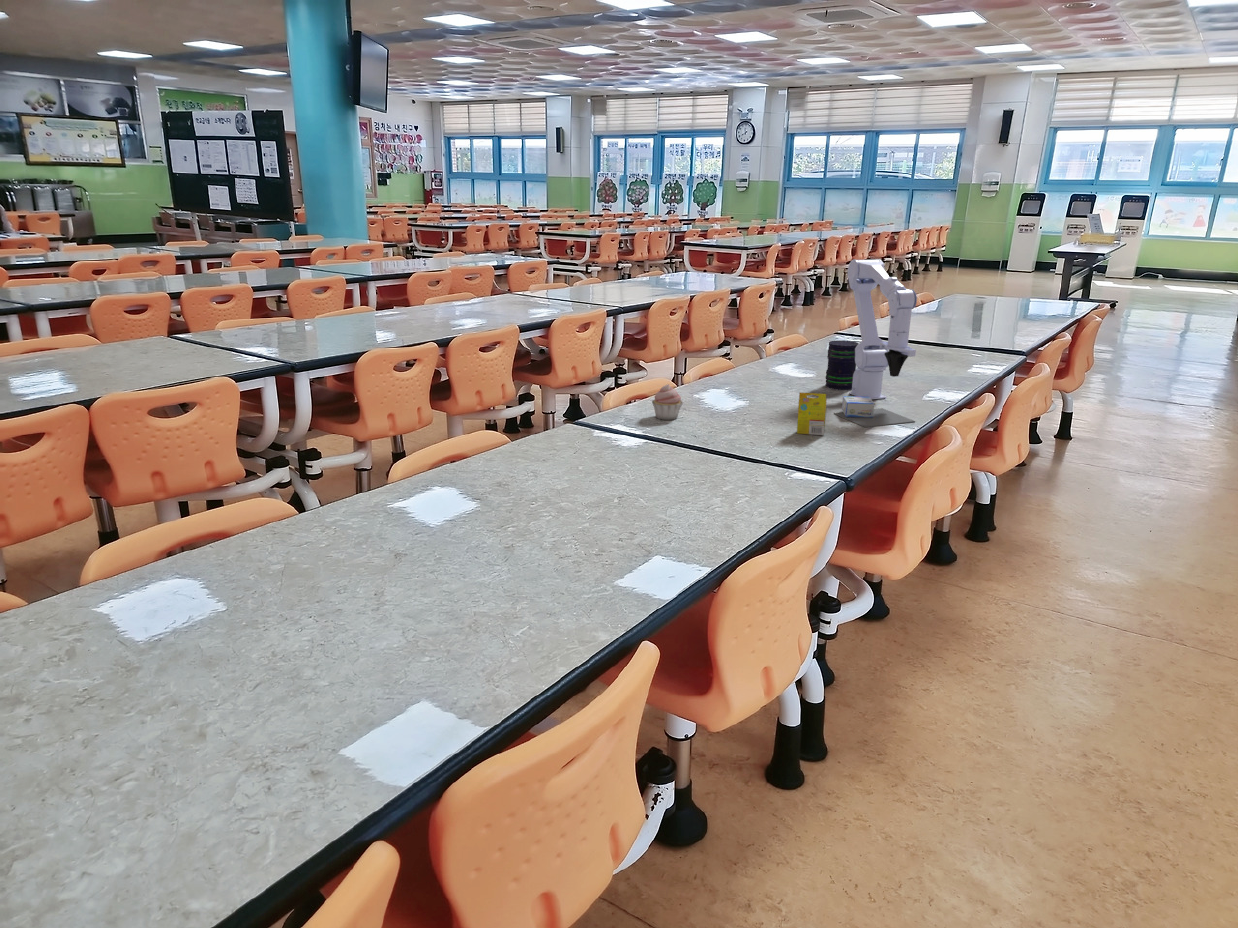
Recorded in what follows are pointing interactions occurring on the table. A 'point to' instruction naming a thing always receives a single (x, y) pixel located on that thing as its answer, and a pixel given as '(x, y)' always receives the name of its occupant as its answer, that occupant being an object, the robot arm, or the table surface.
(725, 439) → the table surface
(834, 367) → the storage jar
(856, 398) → the medicine box
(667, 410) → the cupcake
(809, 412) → the crayon box
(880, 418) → the mat
